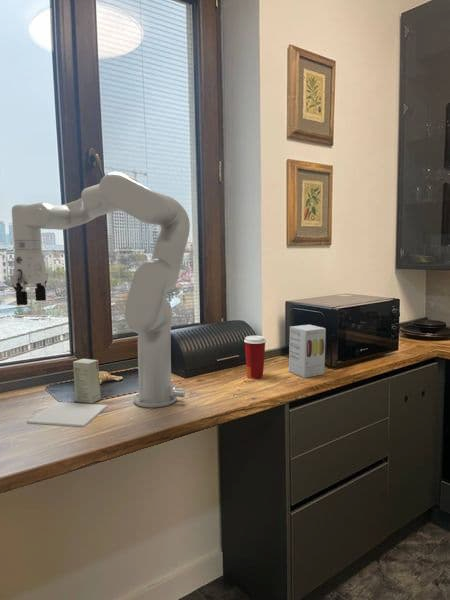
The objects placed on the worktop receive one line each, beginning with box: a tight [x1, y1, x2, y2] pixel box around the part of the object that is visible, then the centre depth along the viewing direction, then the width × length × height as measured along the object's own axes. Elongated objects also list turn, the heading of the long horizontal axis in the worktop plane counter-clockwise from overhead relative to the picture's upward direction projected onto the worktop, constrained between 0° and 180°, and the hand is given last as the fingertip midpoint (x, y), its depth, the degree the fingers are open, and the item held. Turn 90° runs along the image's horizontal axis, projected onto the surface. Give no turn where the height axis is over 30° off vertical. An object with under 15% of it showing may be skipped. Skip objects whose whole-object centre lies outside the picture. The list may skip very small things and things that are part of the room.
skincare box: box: [72, 358, 102, 404], centre depth 129 cm, size 6×4×12 cm
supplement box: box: [288, 324, 327, 379], centre depth 156 cm, size 10×9×17 cm
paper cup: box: [243, 335, 267, 380], centre depth 152 cm, size 8×8×14 cm
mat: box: [26, 401, 108, 428], centre depth 119 cm, size 16×14×1 cm
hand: (31, 302), depth 134 cm, fingers open, 9 cm apart
